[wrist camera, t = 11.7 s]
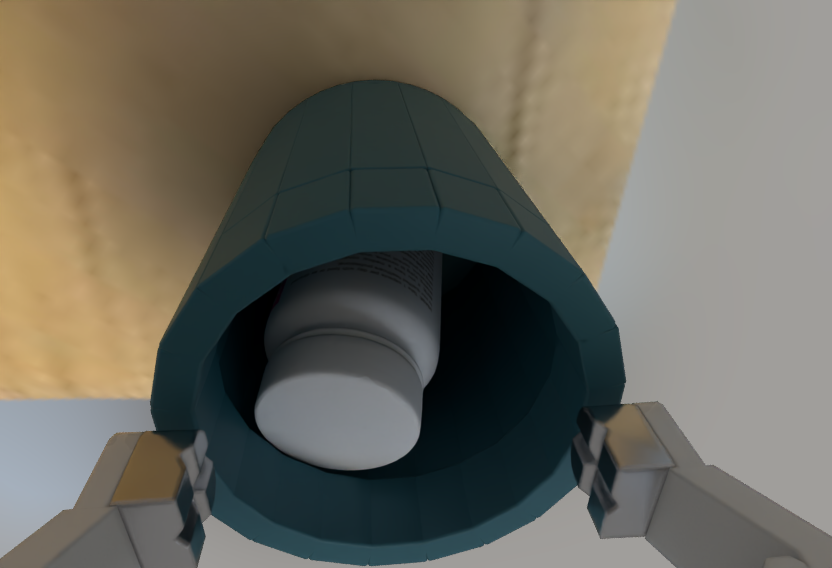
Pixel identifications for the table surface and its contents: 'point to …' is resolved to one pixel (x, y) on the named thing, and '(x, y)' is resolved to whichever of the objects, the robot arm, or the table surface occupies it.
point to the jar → (459, 333)
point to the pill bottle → (351, 358)
